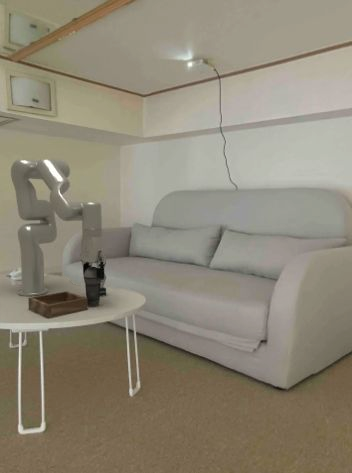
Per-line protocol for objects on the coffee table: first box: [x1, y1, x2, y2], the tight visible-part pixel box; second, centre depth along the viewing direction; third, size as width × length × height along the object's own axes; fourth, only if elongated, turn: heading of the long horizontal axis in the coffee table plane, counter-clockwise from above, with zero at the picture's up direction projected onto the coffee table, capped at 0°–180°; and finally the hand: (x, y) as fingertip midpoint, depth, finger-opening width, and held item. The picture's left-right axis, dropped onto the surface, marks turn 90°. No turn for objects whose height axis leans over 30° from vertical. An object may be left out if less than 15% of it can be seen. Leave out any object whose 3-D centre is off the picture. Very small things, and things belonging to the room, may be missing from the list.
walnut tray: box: [28, 290, 89, 319], centre depth 143 cm, size 16×16×4 cm
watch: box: [100, 273, 107, 297], centre depth 166 cm, size 6×8×11 cm
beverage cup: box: [83, 263, 102, 308], centre depth 148 cm, size 7×7×20 cm
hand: (93, 276), depth 148 cm, fingers open, 9 cm apart
